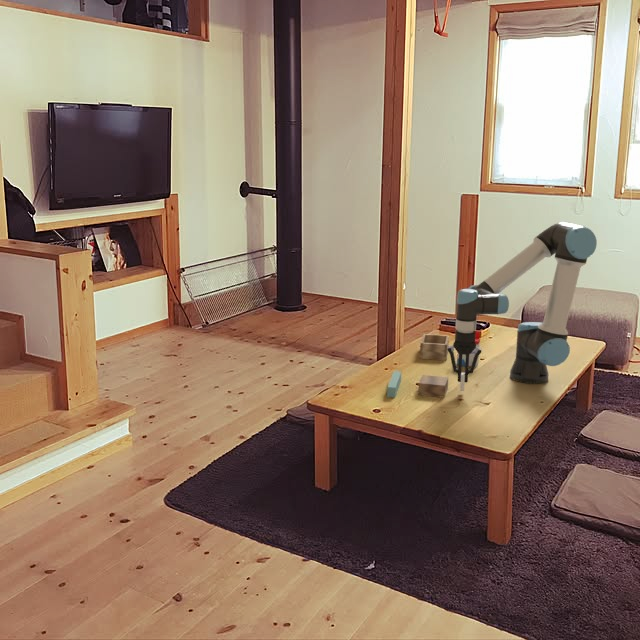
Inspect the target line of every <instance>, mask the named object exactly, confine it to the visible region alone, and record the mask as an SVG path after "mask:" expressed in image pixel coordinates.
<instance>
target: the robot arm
mask: <svg viewBox="0 0 640 640" xmlns="http://www.w3.org/2000/svg"><path fill="white" fill-rule="evenodd" d="M596 248H597V237H596V235H595V233H594V232H593V230H592V229H590V228H588V227H586V226H584V225H582V224H581V225H580V224H576V223H572V222H570V221H561V222H558V223H557V222H556V223H554V224H552V225H550V226H549V227H548V228H546V229H544V230H543V231H541V232H540V233H539V234H538V235H536V236H535V237H534V238H533V242H531V244H529V245H527V246H526V247H525V248H524V249H522V250H521V251H520V252H519V253H517V254H516V255H515V256H514V257H513V258H511V259H510V260H509V261H507V262H506V263H505V264H504V265H502V266H501V267H500V268H498V269H497V270H496V271H494V272H493V273H492V274H491V275H489V276H488V277H487V278H485V279H484V280H483V281H482V282H480V283H478V284H473V285H470V286H469V287H468V288H463V289H460V290H458V292H457V296H456V297H457V298H456V299H457V300H456V316H455V317H456V318H455V332H454V333H455V334H454V342H453V344H452V345H449V346H448V349H447V350H448V354H449V355H450V357H449V358H450V361H451V365H452V371H453V373H456V374H457V382H458V383H460V387H459V391H460V392H465V383H468V381H469V375H470V374H473V373H474V371H475V369H476V367H475V365H476V362H477V359H478V356H479V357H480V355H481V353H482V348H481V347H479V348H478V347H477V346H476V343H475V335H476V332H475V331H476V330H477V315H478V316H479V315H481V316H482V315H502V314H503V315H504V314H506V313H507V312H508V310H509V307H510V301H509V298H508V296H507V295H506V294H504V293H501V292H503V291H504V290H505V289H507V288H508V287H510V285H511V284H513V283H514V282H516V281H517V280H518V279H519V278H521V277H522V276H523V275H524V274H526V273H527V272H529V271H530V270H531V269H532V268H534V267H535V266H537V264H539V263H540V262H541V261H543V260H544V259H545V258H551V257H553V256H554V259H555V261H556V262H557V263H556V268H555V272H554V276H553V279H552V283H551V288H550V291H549V292H550V293H549V296H548V301H547V305H546V308H545V309H546V310H545V312H544V317H543V320H542V322H541V321H540V322H539V321H537V322H536V321H534V322H533V321H532V322H531V321H528V322H527V321H526V322H522V323H521V322H520V324H518V326H517V331H516V332H517V334H516V335H517V336H516V349H515V359H514V361H513V364H512V366H511V368H510V371H509V376H510V379H512V380H513V381H517V382H519V383H520V382H521V383H524V384H542V383H546V382H549V371H548V367H556V366H559V365H561V364H562V363H564V362H565V361H566V360H567V359H568V357H569V355H570V351H571V350H570V349H571V348H570V345H569V343H568V337H569V331H568V329H567V324H568V319H569V315H570V311H571V307H572V303H573V299H574V295H575V291H576V288H577V284H578V279H579V276H580V271H581V268H582V267H583V266H585V265H586V264H587V261H588V258H590V257H591V255H592V256H593V254H594V253H595V252H596ZM474 349H475V356H474V359H473V362H472V365H471V367H470V366H469V354H471V353H472V351H473V350H474ZM454 351H456V352H457V354H458V353H459V364H458V365H457V361H456V358H455V352H454ZM463 354H465V355H466V363H465V366H464V367H465V368H464V372H462V369H463V368H462V367H463V366H462V355H463ZM469 367H470V369H469Z"/></svg>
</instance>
